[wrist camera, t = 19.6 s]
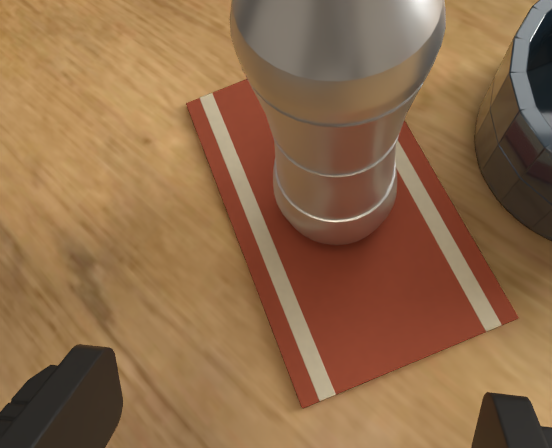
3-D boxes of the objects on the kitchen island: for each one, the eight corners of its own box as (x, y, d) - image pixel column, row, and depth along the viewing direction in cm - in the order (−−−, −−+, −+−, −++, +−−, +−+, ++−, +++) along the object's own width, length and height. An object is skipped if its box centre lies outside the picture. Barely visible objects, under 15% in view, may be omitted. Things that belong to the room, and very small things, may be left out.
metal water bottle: (347, 131, 30) (366, -322, 11) (416, 217, 28) (585, -174, 9) (257, 186, 29) (119, -195, 11) (319, 278, 27) (283, -1, 8)
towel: (187, 105, 32) (185, 103, 32) (355, 38, 33) (355, 35, 32) (302, 408, 25) (302, 408, 25) (516, 318, 25) (519, 317, 25)
